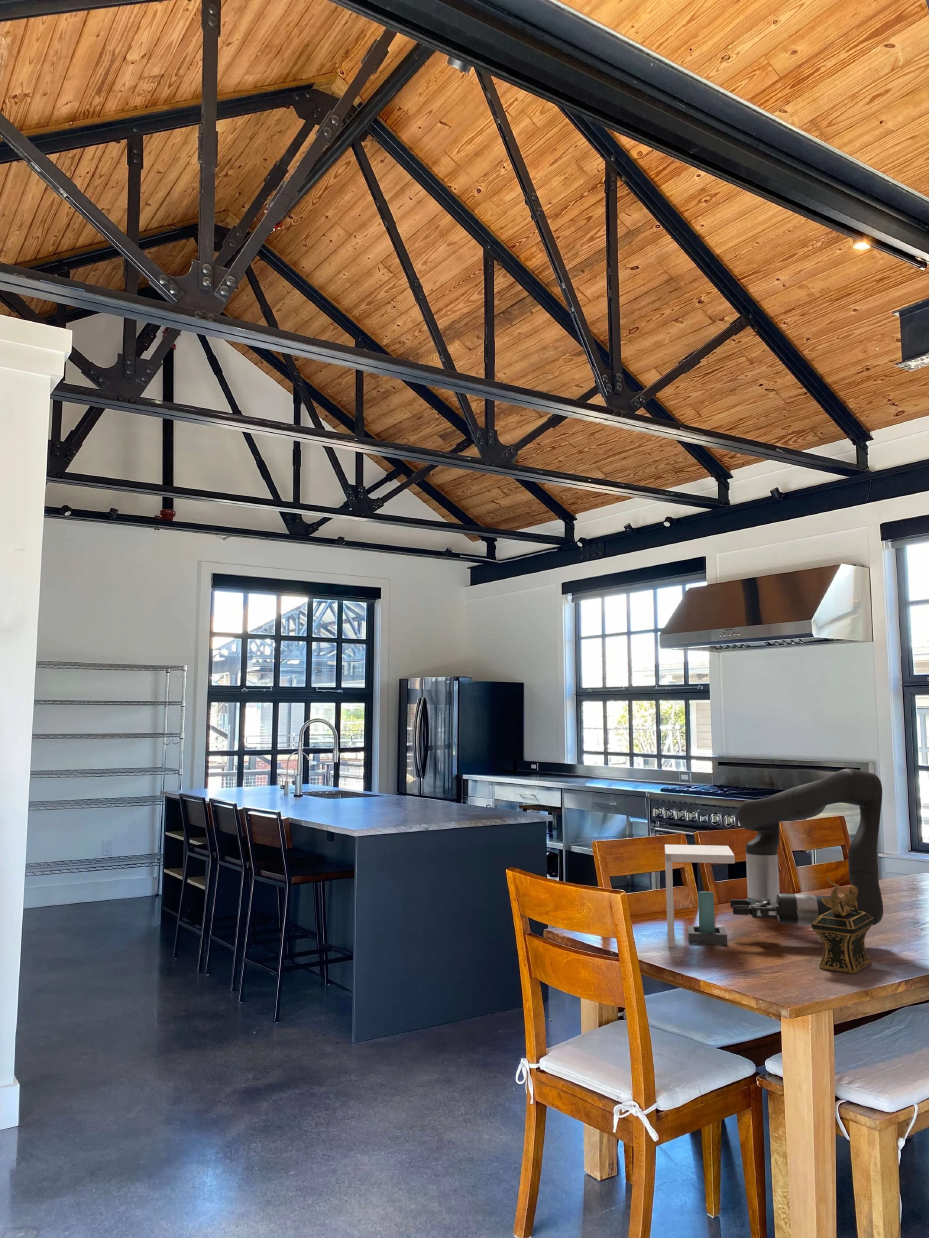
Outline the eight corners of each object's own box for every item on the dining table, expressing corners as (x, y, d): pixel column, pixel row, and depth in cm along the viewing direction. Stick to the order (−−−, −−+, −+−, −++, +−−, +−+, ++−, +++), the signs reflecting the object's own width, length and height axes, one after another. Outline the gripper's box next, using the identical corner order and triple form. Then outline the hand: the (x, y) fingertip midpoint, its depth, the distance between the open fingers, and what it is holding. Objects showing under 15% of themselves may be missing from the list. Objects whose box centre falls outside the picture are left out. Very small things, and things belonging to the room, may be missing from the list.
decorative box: (835, 955, 213) (830, 872, 216) (877, 962, 207) (872, 875, 210) (806, 972, 198) (801, 882, 201) (851, 980, 192) (845, 886, 195)
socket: (687, 935, 236) (687, 925, 236) (724, 936, 234) (724, 926, 234) (689, 943, 227) (688, 933, 227) (727, 944, 225) (727, 934, 225)
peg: (699, 937, 233) (697, 891, 234) (714, 938, 232) (713, 891, 233) (699, 941, 229) (698, 893, 230) (715, 942, 228) (714, 894, 229)
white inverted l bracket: (738, 950, 219) (734, 855, 222) (668, 946, 223) (665, 853, 226) (731, 932, 238) (728, 845, 242) (667, 930, 242) (664, 844, 245)
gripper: (792, 889, 234) (728, 887, 237) (800, 898, 220) (733, 896, 224) (793, 918, 233) (730, 916, 236) (802, 930, 219) (734, 927, 223)
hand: (731, 906), depth 230 cm, fingers open, 8 cm apart
